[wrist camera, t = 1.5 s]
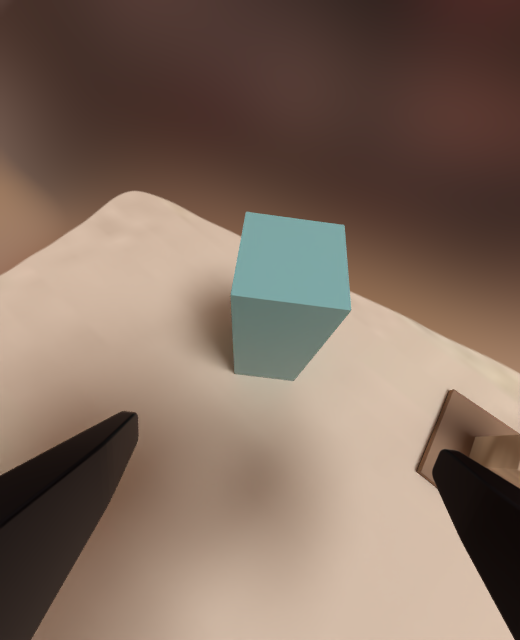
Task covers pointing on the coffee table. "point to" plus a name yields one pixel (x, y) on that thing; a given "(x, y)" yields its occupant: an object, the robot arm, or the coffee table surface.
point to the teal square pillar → (286, 293)
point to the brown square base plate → (473, 439)
